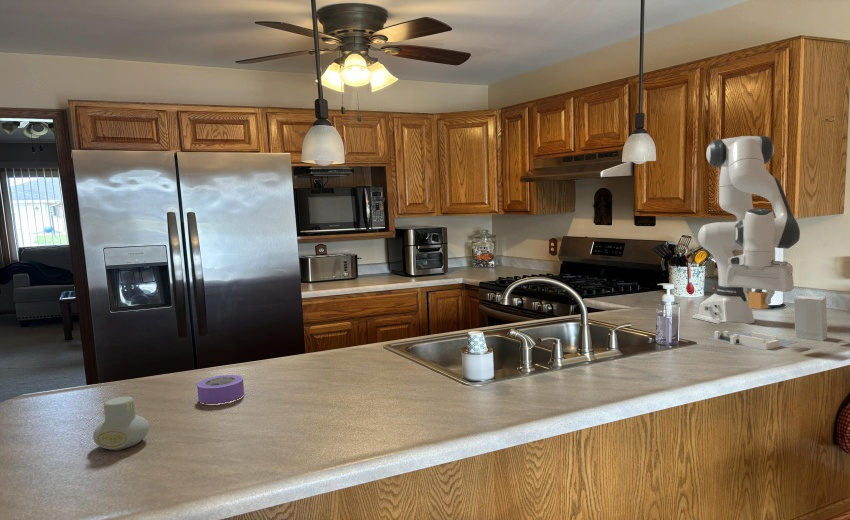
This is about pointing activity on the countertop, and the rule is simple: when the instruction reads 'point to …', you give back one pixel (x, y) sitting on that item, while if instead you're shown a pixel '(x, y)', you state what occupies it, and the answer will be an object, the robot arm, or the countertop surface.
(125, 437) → the air freshener
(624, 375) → the countertop surface
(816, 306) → the skincare box
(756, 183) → the robot arm
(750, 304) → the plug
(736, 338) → the board
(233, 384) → the tape roll
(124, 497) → the countertop surface
